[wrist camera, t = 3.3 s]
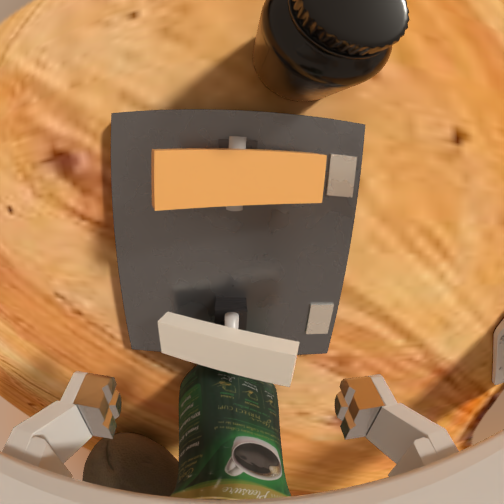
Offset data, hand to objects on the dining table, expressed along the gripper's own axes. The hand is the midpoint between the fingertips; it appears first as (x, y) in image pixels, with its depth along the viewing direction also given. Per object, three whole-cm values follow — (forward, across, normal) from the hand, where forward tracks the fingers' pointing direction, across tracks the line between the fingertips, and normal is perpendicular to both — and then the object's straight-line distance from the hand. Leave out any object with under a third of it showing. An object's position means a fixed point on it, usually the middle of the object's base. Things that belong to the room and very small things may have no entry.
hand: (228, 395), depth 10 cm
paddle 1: (+11, 0, -6) cm, 12 cm away
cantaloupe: (+16, +11, +29) cm, 35 cm away
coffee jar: (+15, 0, +16) cm, 22 cm away
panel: (+15, 0, 0) cm, 15 cm away
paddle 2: (+11, 0, +6) cm, 12 cm away
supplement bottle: (+16, -4, -14) cm, 22 cm away
